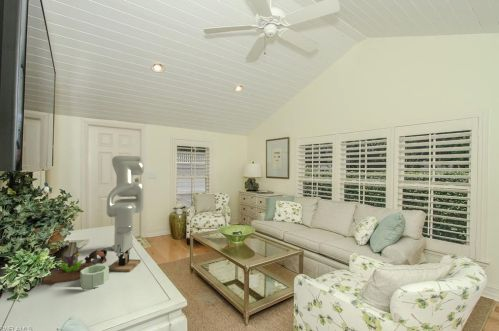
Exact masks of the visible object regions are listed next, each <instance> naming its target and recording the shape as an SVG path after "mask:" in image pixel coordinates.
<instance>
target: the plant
mask: <svg viewBox="0 0 499 331" xmlns="http://www.w3.org/2000/svg"><path fill="white" fill-rule="evenodd" d="M80 255H81V254H80V253H79V252H74V253H73V254H72V255H71V257H70V258H69V257H68V256H65V255H63V256H61V257H60V258H59V259H60V261H63V260H64V258H65V259H66V260H64V261H63V262H61V264H58V267H62V269H59V270H57V269H56V270H54V269H52V270H50V271H51V275H50V276H48V277H45V278H44V277H43V278H42V283H43V282H44V283H43V285H44V284H45V285H52V286H53V285H55V284H58V283H67V282H74V281H78V280H79V281H80V271H81V270H83V269H84V268H86V267H89V266H93V265H97V264H96V263H92V262H91V263H90V262H89V263H85V262H84V263H83V261H84V259H82V260H79V261H78V262H77V261H76V259H74V257H75V256H76V257H79V256H80ZM63 265H65V266H63Z"/></svg>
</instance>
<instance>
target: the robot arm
mask: <svg viewBox="0 0 499 331" xmlns="http://www.w3.org/2000/svg"><path fill="white" fill-rule="evenodd" d="M111 163H112V164H111V165H112V168H113V170H114V172H115V176H116V185H115V187H114V188H112V190H111V191H110V192H109V193H108V196H107V198H106V215H107V216H108V218H114V234H113V235H114V238H113V239H114V240H113V241H114V243H113V245H111V250H113V251H114V253H115V256H116V257H117V258H118V259H119V266H125V253H127V254H128V255H127V263H128V262H129V259H130V254H131V253H130V252H131V249H132V248H133V247H134V243H133V239H134V238H133V229H134V228H133V226H134V223H133V222H134V221H133V220H134V215H135V214H139V213H142V212H143V209H144V185H143V183H142V182H139V181H134V179H133V178H134V176H142V175H143V173H144V169H145V166H144V160H143V157H142V156H138V155H137V156H136V155H115V156H113V157H112V158H111ZM116 196H117V197H120V198H119V199H116V200H115V201H113V200H114V198H115V197H116ZM121 197H122V198H121ZM124 197H125V198H124ZM129 197H130V198H129ZM132 197H135V198H132ZM122 254H123V255H122Z"/></svg>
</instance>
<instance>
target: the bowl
mask: <svg viewBox="0 0 499 331" xmlns="http://www.w3.org/2000/svg"><path fill="white" fill-rule="evenodd" d="M109 278H110V272H109V266H108V264H96V265H93V266H89V267H86V268H84V269H83V270H81V271H80V279H79V285H81V286H80V287H81V289H82V290H95V289H97V288H99V286H101V285H104V284H105V283H106V282H108V281H109Z"/></svg>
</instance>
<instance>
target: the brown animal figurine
mask: <svg viewBox="0 0 499 331" xmlns="http://www.w3.org/2000/svg"><path fill="white" fill-rule="evenodd" d="M107 254H108V251H107V249H104V248H103V249H101V250H99V249H95V250H94V251H92V252H90V253H89V254H88V256H85V257H84V260H85V262H84V263H91V264H92V260H98V256H99V257H100V259H101V260H102V261H101V264H104V263H106V262H108V261H107V257H106V256H108V255H107Z"/></svg>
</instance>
